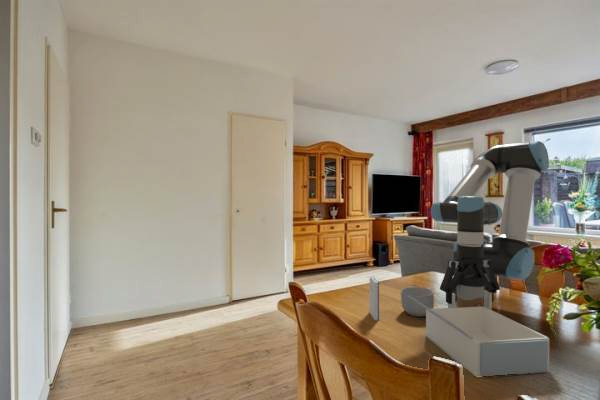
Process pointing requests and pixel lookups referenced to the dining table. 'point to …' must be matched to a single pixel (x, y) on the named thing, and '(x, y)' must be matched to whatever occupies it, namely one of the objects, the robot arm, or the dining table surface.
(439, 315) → the flap
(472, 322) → the carton
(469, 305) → the coffee cup
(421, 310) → the teacup
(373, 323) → the dining table surface
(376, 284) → the hard drive
